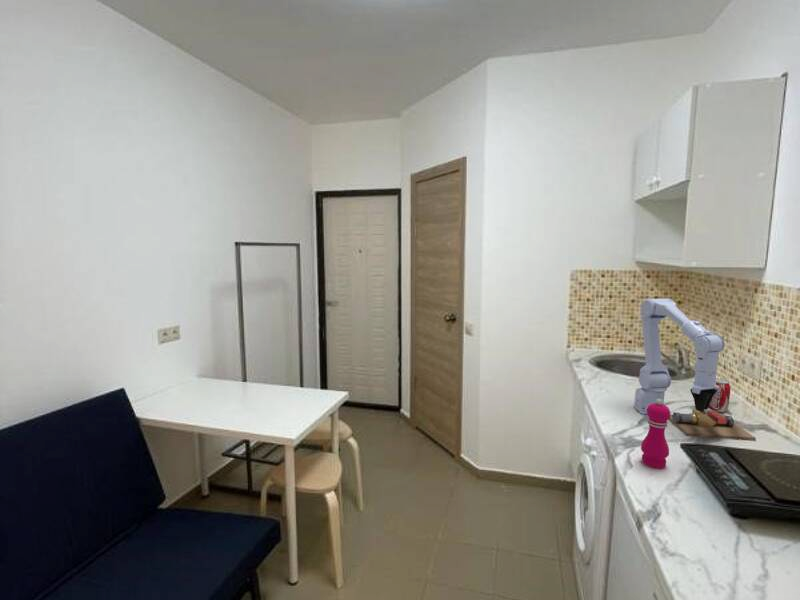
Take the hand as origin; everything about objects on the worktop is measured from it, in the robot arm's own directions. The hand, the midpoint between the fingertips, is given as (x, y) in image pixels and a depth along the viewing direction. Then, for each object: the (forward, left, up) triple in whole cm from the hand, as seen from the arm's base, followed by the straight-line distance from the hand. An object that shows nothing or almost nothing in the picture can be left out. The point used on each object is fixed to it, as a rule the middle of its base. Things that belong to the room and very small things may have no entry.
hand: (701, 409), depth 146 cm
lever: (+5, +3, -4) cm, 7 cm away
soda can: (+19, +27, -10) cm, 34 cm away
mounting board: (+7, +8, -9) cm, 14 cm away
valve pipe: (+5, +9, -9) cm, 14 cm away
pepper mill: (-23, -22, -10) cm, 34 cm away
